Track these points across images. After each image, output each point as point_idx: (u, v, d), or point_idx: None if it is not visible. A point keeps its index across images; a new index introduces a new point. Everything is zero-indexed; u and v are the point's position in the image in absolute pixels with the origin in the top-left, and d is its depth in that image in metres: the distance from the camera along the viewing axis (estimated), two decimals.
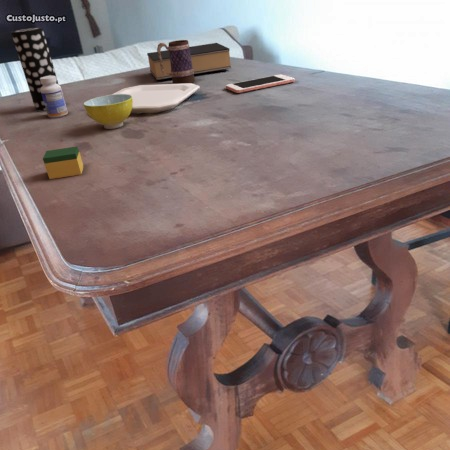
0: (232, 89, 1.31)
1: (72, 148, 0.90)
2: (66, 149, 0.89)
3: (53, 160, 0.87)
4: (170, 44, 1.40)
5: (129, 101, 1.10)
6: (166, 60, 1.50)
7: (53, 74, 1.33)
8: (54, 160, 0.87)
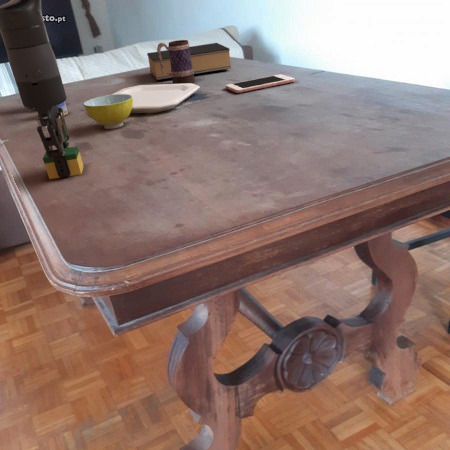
0: (232, 89, 1.31)
1: (72, 148, 0.90)
2: (66, 149, 0.89)
3: None
4: (170, 44, 1.40)
5: (129, 101, 1.10)
6: (166, 60, 1.50)
7: None
8: None
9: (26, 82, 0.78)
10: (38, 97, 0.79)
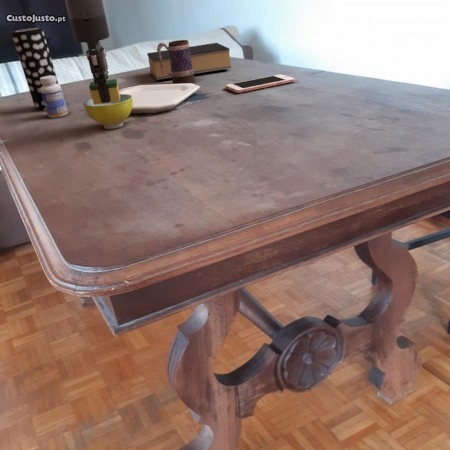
0: (232, 89, 1.31)
1: (112, 80, 1.09)
2: (107, 80, 1.08)
3: (97, 88, 1.06)
4: (170, 44, 1.40)
5: (129, 101, 1.10)
6: (166, 60, 1.50)
7: (53, 74, 1.33)
8: None
9: (80, 18, 0.97)
10: (88, 31, 0.98)
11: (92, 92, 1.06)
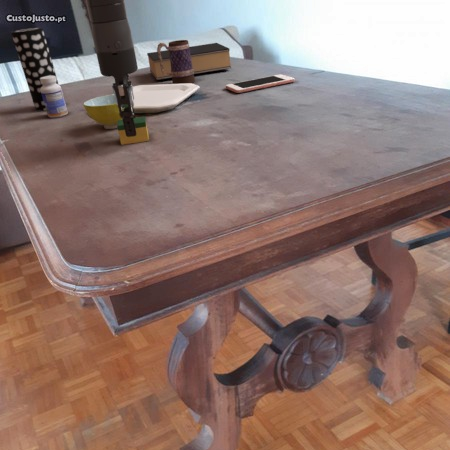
0: (232, 89, 1.31)
1: (140, 118, 1.03)
2: (135, 119, 1.03)
3: None
4: (170, 44, 1.40)
5: None
6: (166, 60, 1.50)
7: (53, 74, 1.33)
8: None
9: (107, 52, 0.90)
10: (116, 65, 0.92)
11: (120, 132, 1.00)
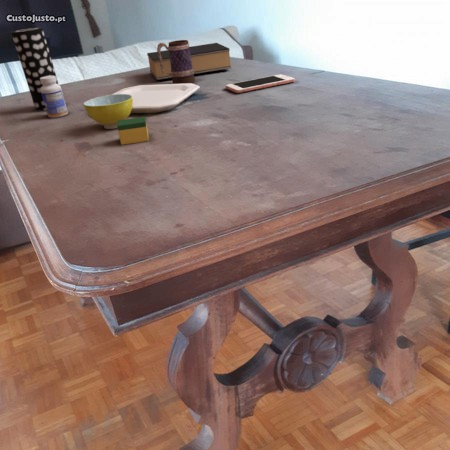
0: (232, 89, 1.31)
1: (140, 118, 1.03)
2: (135, 119, 1.03)
3: (126, 127, 1.00)
4: (170, 44, 1.40)
5: (129, 101, 1.10)
6: (166, 60, 1.50)
7: (53, 74, 1.33)
8: (126, 127, 1.00)
9: None
10: None
11: (120, 132, 1.00)
